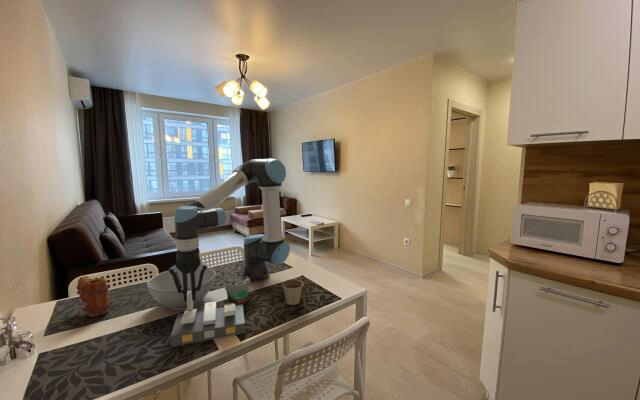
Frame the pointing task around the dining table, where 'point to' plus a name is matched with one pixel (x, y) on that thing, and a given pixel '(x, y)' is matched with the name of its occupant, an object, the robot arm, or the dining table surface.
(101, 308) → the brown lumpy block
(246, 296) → the food container
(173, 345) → the switch unit
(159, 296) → the decorative bowl
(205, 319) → the rocker
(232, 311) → the block
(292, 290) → the flower pot
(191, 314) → the block
